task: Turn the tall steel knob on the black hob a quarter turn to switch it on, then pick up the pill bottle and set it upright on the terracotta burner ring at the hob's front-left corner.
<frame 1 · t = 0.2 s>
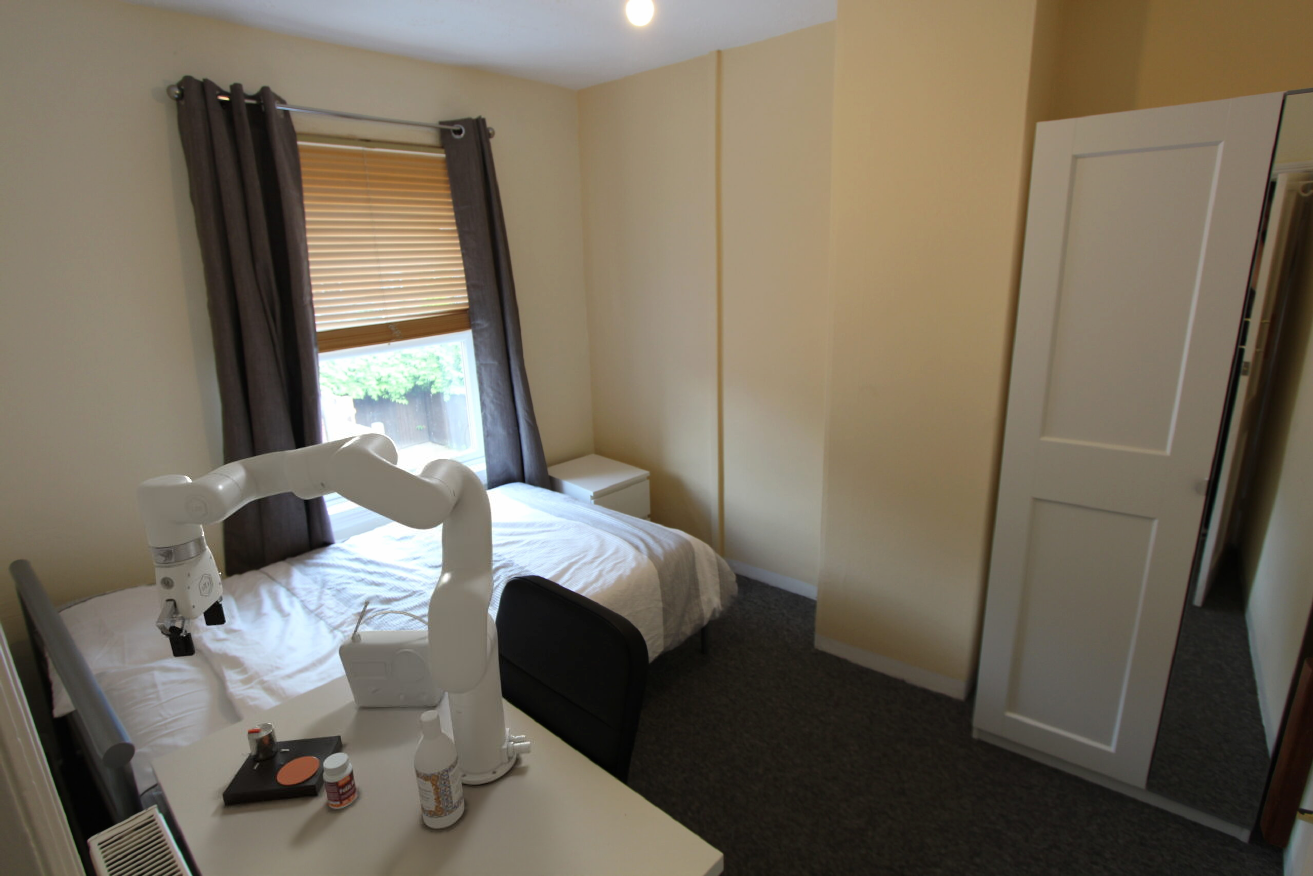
hand: (201, 639, 115), 31 cm above the table, tool pointing down, fingers open, 9 cm apart
pill bottle: (343, 800, 119), on the table
radio: (401, 701, 145), on the table
bath foam: (444, 814, 115), on the table
hob knob: (262, 741, 127), point 5 cm above the table, hinge at 0.0°
burner ring: (298, 771, 123), resting on hob
hob: (287, 774, 125), on the table
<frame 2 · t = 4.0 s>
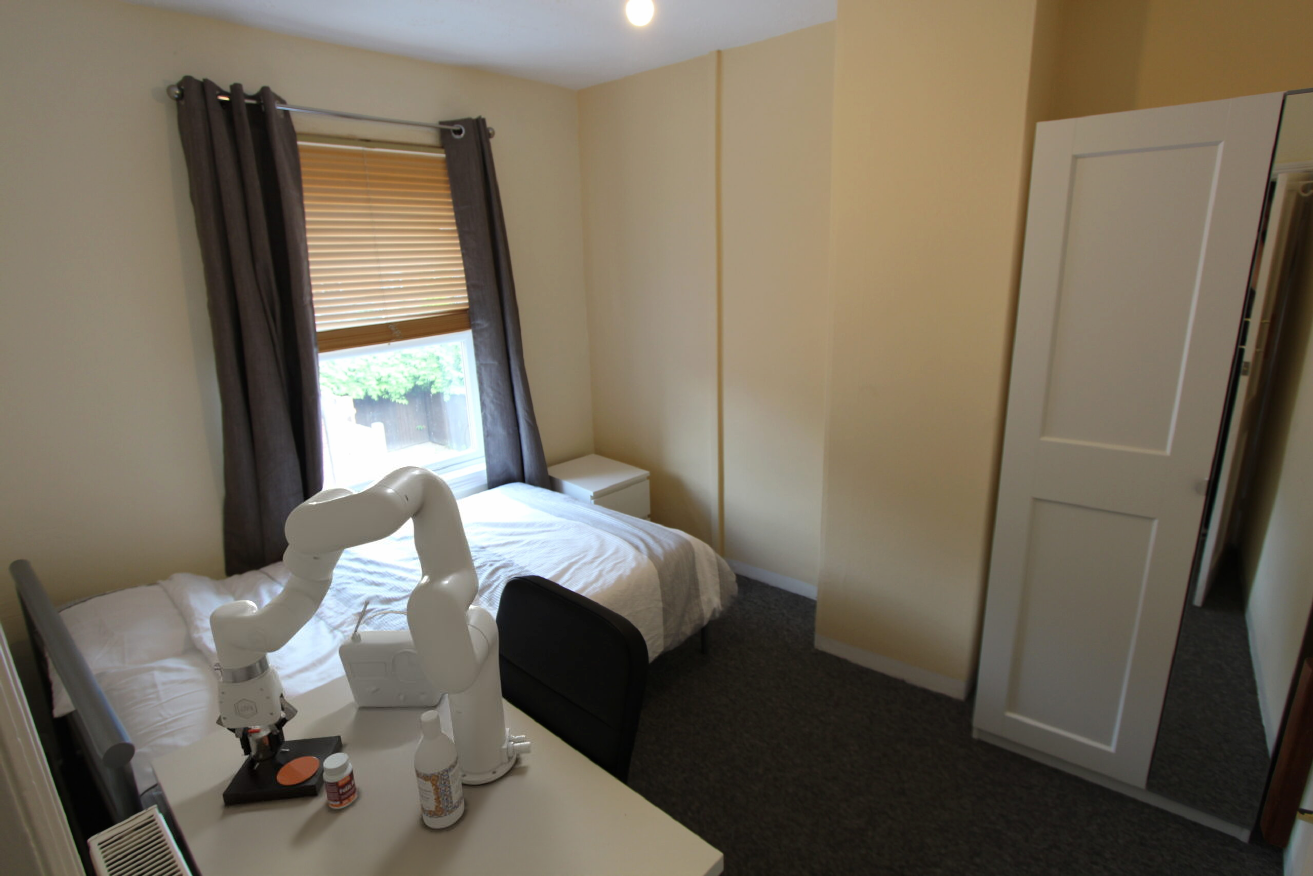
hand: (264, 748, 127), 4 cm above the table, tool pointing down, fingers closed on hob knob, 4 cm apart
hob knob: (262, 741, 127), point 5 cm above the table, hinge at 0.0°, touching gripper
everything else where it was.
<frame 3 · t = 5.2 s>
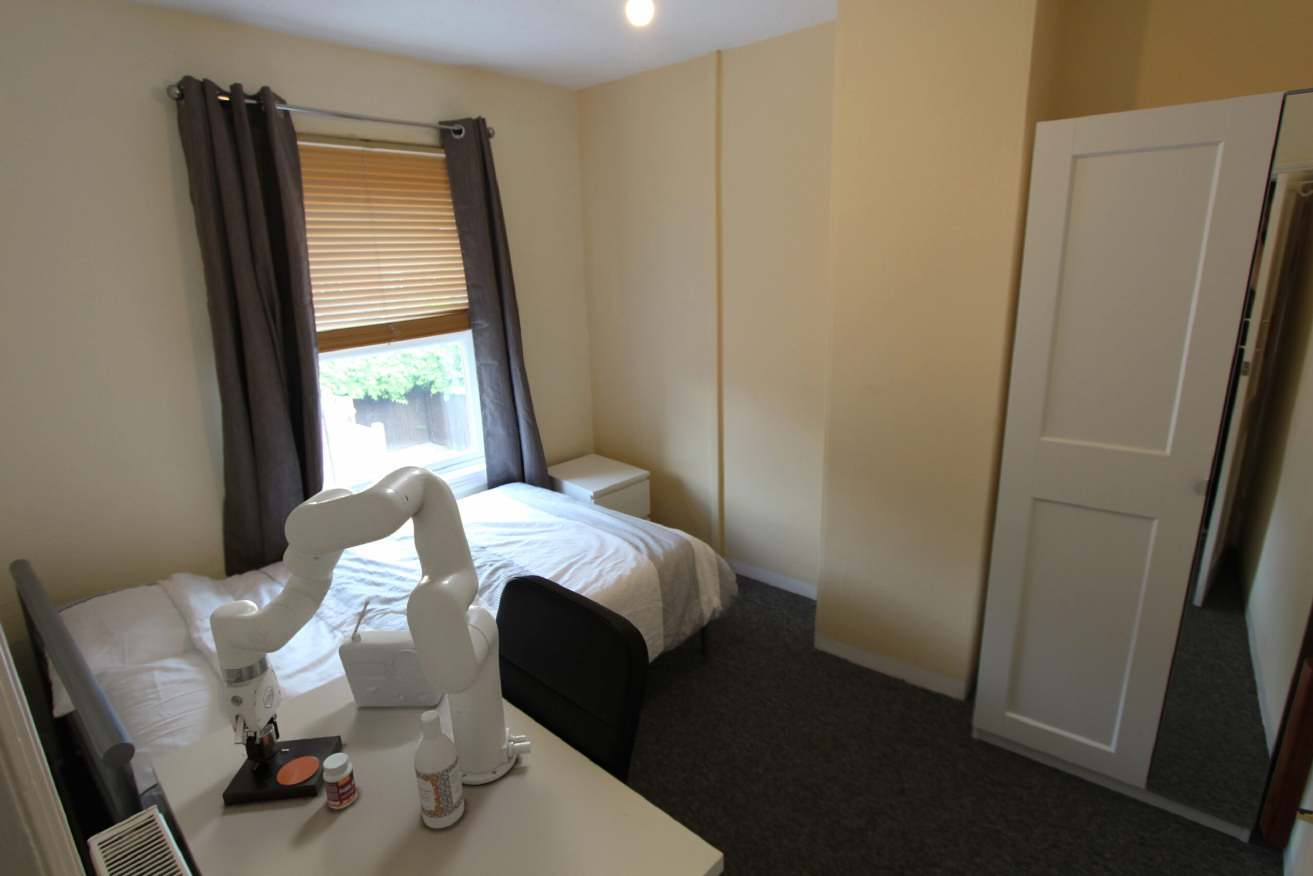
hand: (264, 748, 127), 4 cm above the table, tool pointing down, fingers closed on hob knob, 4 cm apart
hob knob: (262, 741, 127), point 5 cm above the table, hinge at 89.9°, touching gripper
everything else where it was.
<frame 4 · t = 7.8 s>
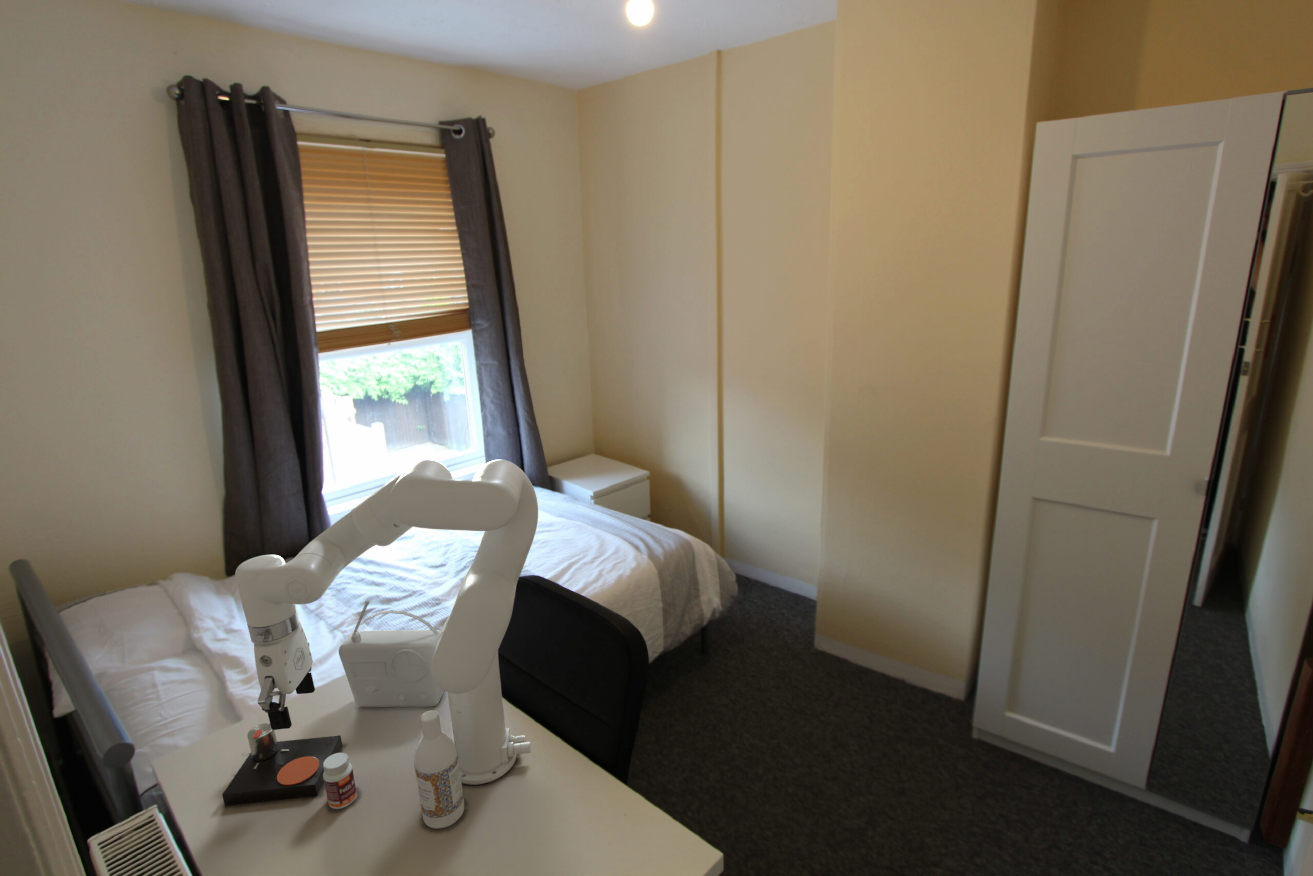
hand: (294, 709, 119), 16 cm above the table, tool pointing down, fingers open, 9 cm apart
hob knob: (262, 741, 127), point 5 cm above the table, hinge at 89.4°
everything else where it was.
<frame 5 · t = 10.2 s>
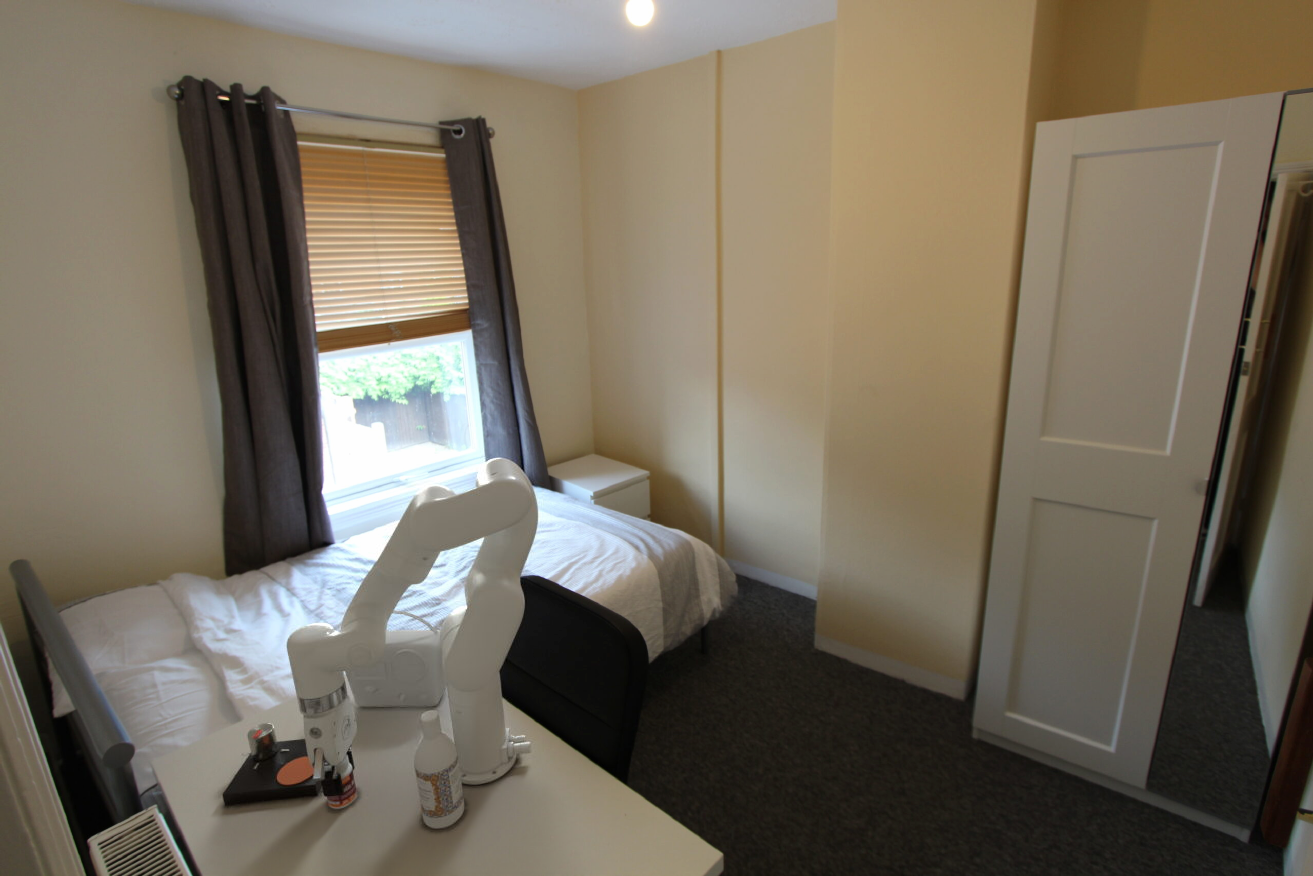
hand: (339, 781, 118), 4 cm above the table, tool pointing down, fingers closed on pill bottle, 4 cm apart
pill bottle: (343, 800, 119), on the table, touching gripper
everything else where it was.
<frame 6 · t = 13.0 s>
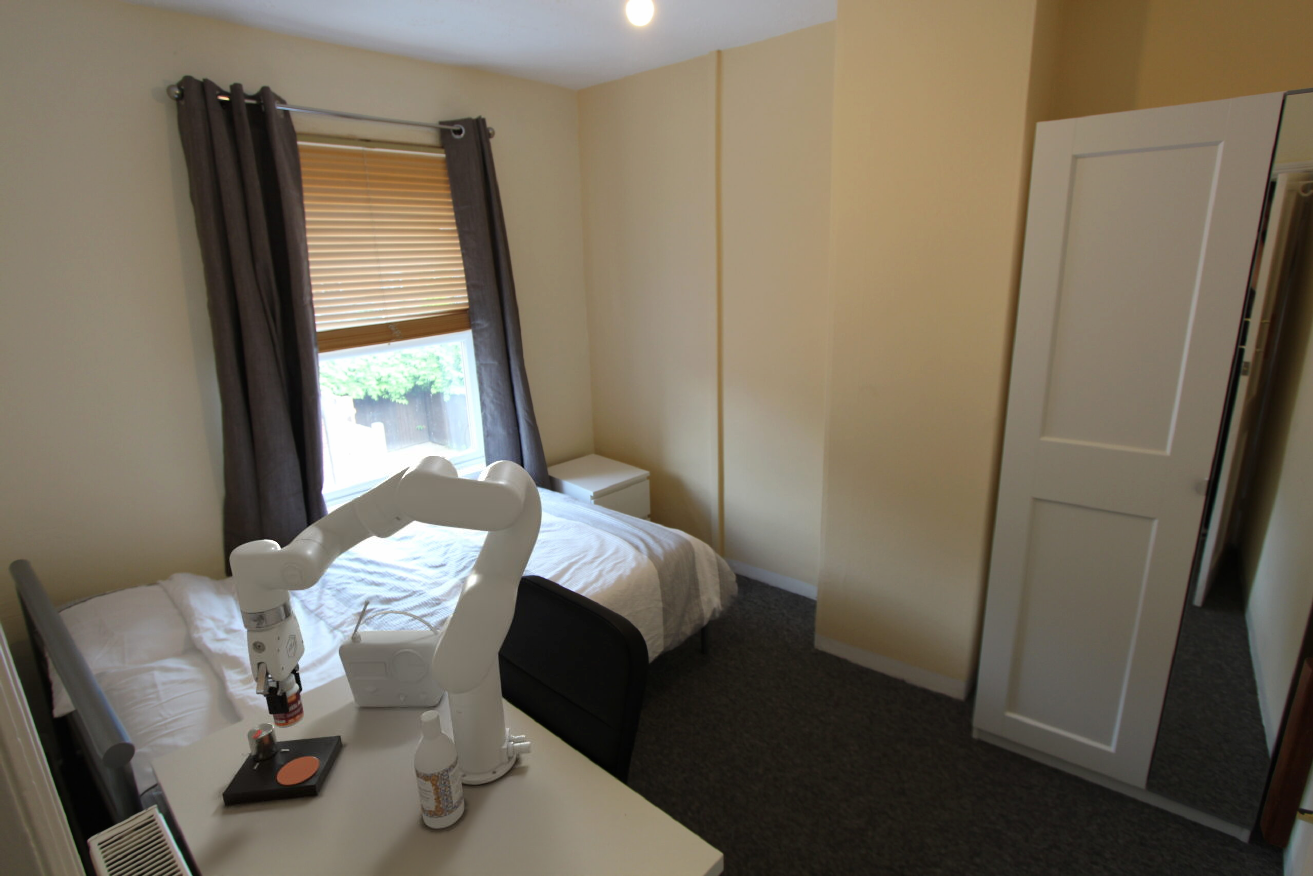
hand: (286, 701, 118), 18 cm above the table, tool pointing down, fingers closed on pill bottle, 4 cm apart
pill bottle: (290, 720, 119), point 14 cm above the table, touching gripper
everything else where it was.
when the fingers open (6 cm above the table, at t = 15.9 s): pill bottle stays where it is, resting on burner ring.
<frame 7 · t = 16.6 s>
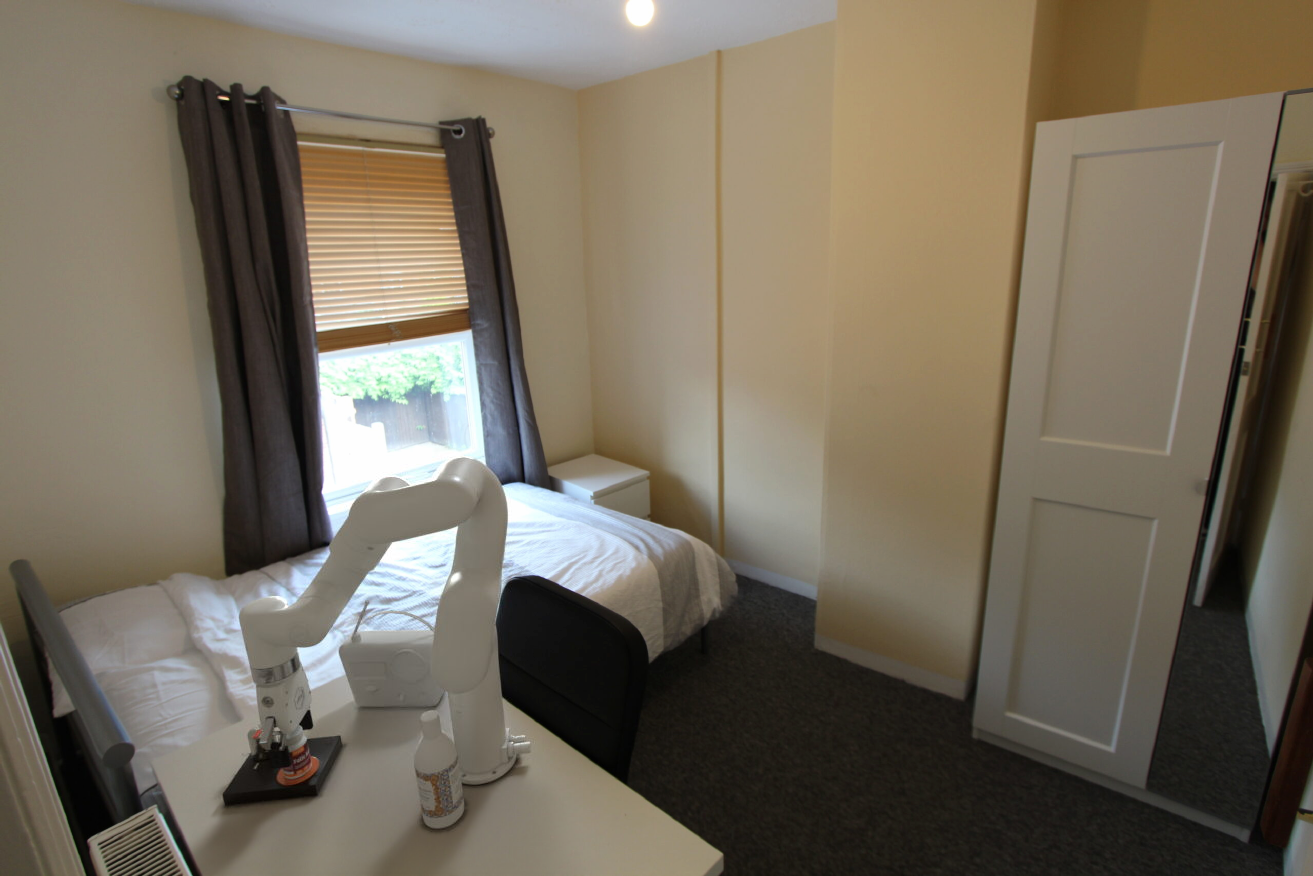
hand: (293, 747, 121), 8 cm above the table, tool pointing down, fingers open, 9 cm apart
pill bottle: (298, 771, 123), point 3 cm above the table, touching burner ring
everything else where it was.
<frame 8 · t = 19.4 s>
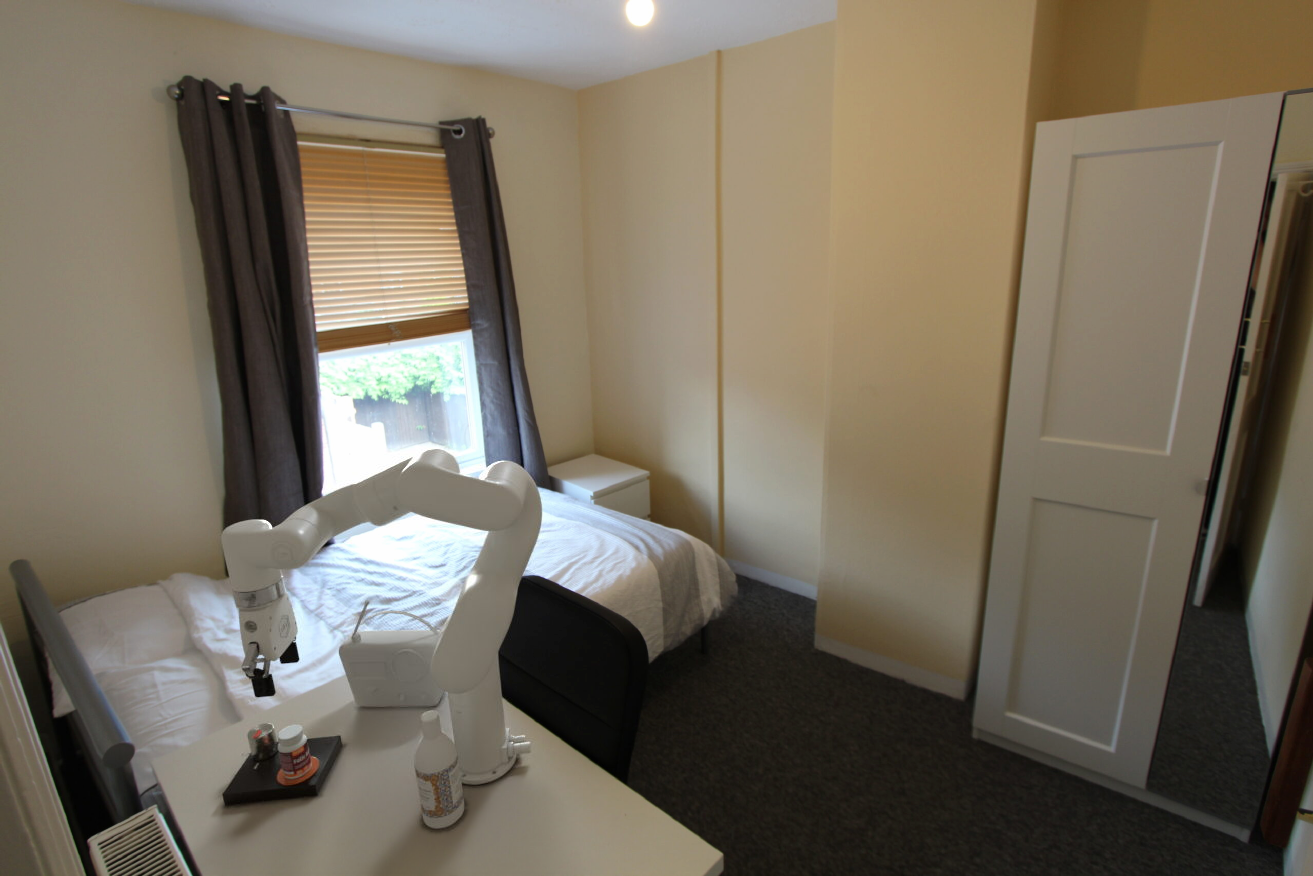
hand: (278, 678, 117), 22 cm above the table, tool pointing down, fingers open, 9 cm apart
nothing on the table moved.
at the end: hob knob at +89° (first picture: +0°); pill bottle 0.0 cm from the target spot, point 2.5 cm above the table; pill bottle tilted 0° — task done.
